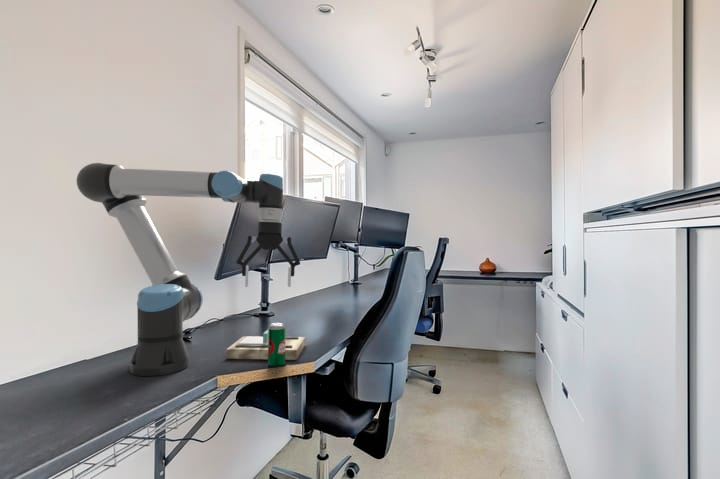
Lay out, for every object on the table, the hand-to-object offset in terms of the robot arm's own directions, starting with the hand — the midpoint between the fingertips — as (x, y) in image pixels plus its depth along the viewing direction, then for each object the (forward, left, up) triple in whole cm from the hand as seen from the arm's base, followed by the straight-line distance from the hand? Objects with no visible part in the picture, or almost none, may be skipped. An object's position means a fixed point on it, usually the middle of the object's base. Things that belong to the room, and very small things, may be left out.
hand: (268, 286), depth 129 cm
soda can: (+6, -12, -22) cm, 26 cm away
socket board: (0, +1, -22) cm, 22 cm away
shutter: (-4, +1, -19) cm, 19 cm away
